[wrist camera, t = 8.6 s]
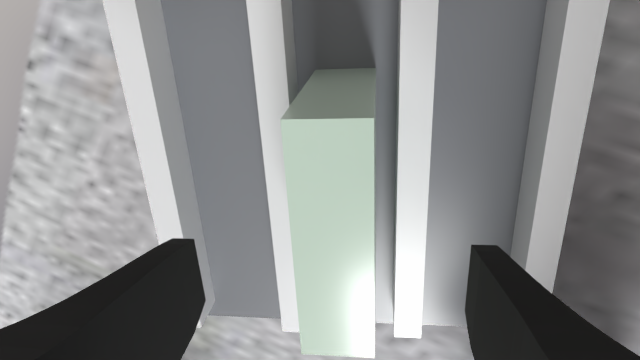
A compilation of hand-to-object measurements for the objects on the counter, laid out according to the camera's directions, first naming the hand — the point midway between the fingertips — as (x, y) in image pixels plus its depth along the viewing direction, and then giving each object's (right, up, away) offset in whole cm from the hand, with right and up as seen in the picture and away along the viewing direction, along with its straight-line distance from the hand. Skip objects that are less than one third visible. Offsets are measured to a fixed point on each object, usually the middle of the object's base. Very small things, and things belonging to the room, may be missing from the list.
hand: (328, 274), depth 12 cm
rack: (+1, +4, +8) cm, 9 cm away
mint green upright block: (+1, +3, +8) cm, 8 cm away
